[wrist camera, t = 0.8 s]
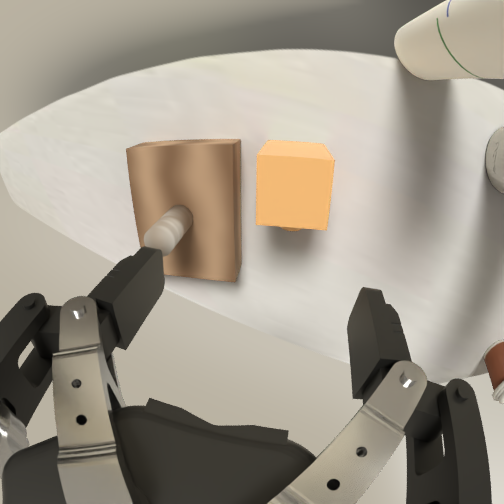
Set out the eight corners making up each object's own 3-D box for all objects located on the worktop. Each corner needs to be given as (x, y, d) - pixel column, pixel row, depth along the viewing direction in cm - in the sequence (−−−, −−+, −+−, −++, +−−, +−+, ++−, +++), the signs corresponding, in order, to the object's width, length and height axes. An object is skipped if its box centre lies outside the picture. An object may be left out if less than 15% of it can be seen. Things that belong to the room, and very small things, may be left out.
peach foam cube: (268, 140, 29) (256, 154, 21) (323, 143, 28) (334, 160, 20) (266, 216, 33) (255, 255, 26) (316, 220, 33) (322, 260, 25)
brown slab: (240, 139, 29) (216, 156, 21) (241, 264, 37) (224, 316, 29) (143, 142, 31) (93, 162, 22) (158, 256, 39) (124, 300, 30)
